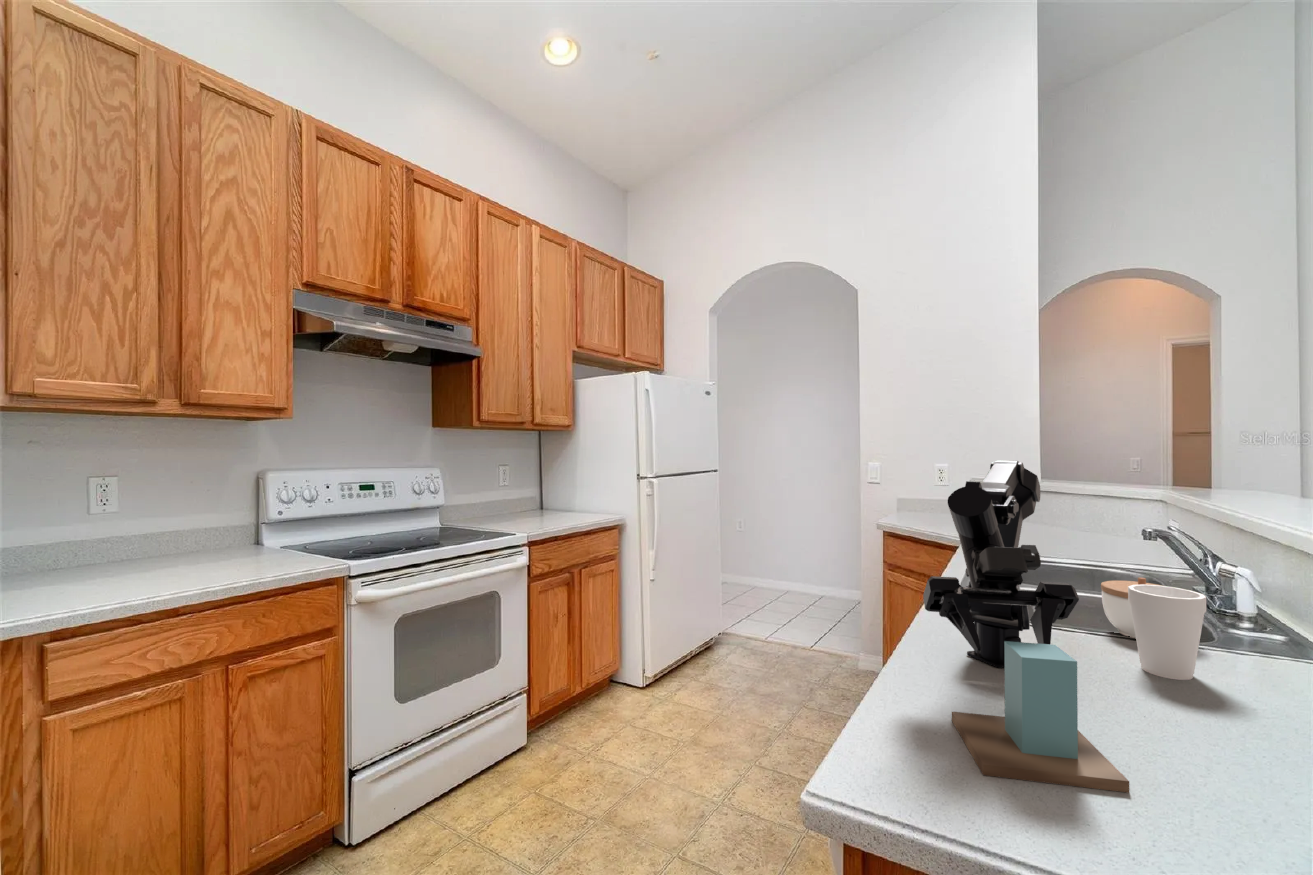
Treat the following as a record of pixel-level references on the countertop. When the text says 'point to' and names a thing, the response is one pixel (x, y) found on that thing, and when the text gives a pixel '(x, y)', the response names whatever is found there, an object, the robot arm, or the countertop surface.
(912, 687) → the countertop surface
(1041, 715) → the teal rectangular prism
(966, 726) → the post board
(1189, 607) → the foam cup
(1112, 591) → the lidded bowl
